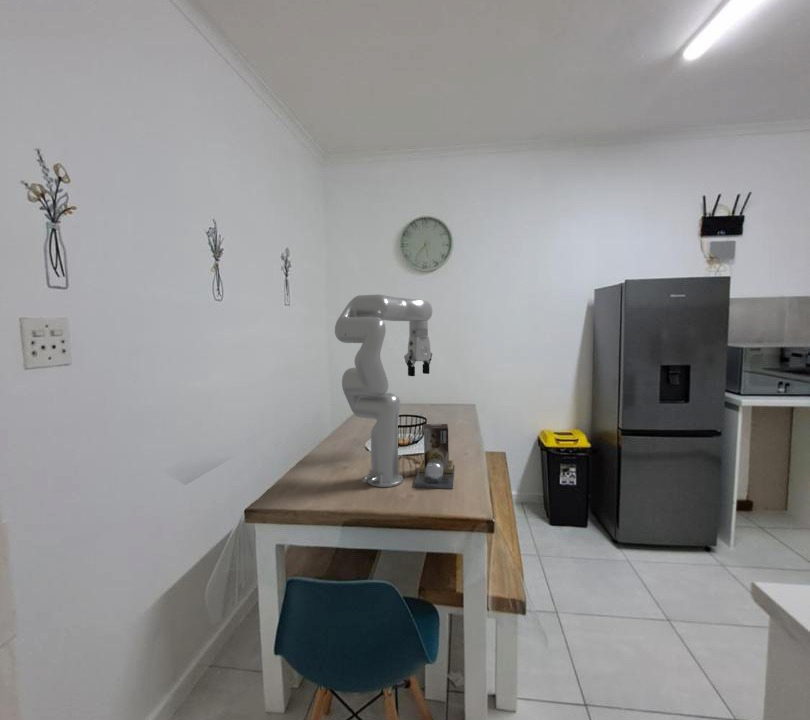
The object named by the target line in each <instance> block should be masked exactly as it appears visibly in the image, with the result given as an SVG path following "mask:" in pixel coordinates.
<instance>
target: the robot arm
mask: <svg viewBox="0 0 810 720" xmlns="http://www.w3.org/2000/svg"><path fill="white" fill-rule="evenodd" d="M432 315H433V307H432V304H431V303H430V302H429V301H427V300H422V299H412V298H405V297H394V296H389V295H385V294H359V295H356V296H355V297H353V298H352V299H351V300H350V301H349V302H348V303H347V305H346V306H345V308H344V310H342V312H341V314H340V315H339V317H338V318H337V320H336V323H335V325H334V334H335V335H334V336H335V337H336V339H337V340H338V341H339V342H341V343H344V344H352V343H353V344H361V346H360V348H359V349H358V351H357V353H356V354H355V357H354V359H353V360H354V367H350V368H347V369H346V370H345V371H344V372H343V375H342V379H341V388H342V391H343V394H344V396H345V398H346V401H347V403H348V405H349V407H350V410H351V412H352V413H353V415H355V416H356V417H358V418H361V419H371V420H372V419H373V420H376V422H375V424H374V425H373V426H372V429H371V430H370V431H371V432H370V456H371V458H370V459H371V460H370V463H371V464H370V465H371V469H369V473H368V474H367V475H364V476H362V477H361V481H362V483H366V482H367V483H368V485H371V487H372V486H374V487H377V488H390V487H395V486H397V485H400V484H402V482H403V480H404V479H403V476H402V474H400V473H399V428H398V426H399V418H400V417H399V416H400V411H401V401H400V398H399V397H398V396H397V395H396V394H394V393H391V392H388V391H389V380H388V378H387V374H386V372H385V368H384V366H383V363H382V360H381V350H382V348H383V343H384V339H385V336H386V333H387V332H386V330H387V329H386V324H385V322H384V321H389V322H390V321H391V322H409V323H408V325H409V327H408V328H409V329H408V330H409V332H408V333H409V337H408V342H407V343H408V344H407V353H406V354H404V357H403V358H404V360H405V364H406V366H407V376H408V377H415V376H416V371H415V370H416V366H415V364H416V363H417V362H422V374H424V375H426V374H427V375H429V374H430V365H431V361H432V358H433V357H432V356H433V353H432V351H431V342H430V337H429V336H428V335H429V333H428V331H429V328H428V326H429V323H428V322H429V320H431V318H432Z"/></svg>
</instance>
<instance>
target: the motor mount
mask: <svg viewBox="0 0 810 720" xmlns="http://www.w3.org/2000/svg"><path fill="white" fill-rule="evenodd" d="M454 478H455V464H454V459H453V460H450V459H449V468H444V465H443V463H442V461H441V460H439V459H436V458H434V459H431V460H430V461H429V462H428V463H427V467H424V459H421V460H420V463H419V465H418V470H417V473H416V476H415V479H414V480H415V481H414V488H424V489H425V488H426V489H442V490H443V489H447V490H448V489H450V490H454V480H455V479H454Z"/></svg>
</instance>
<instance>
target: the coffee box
mask: <svg viewBox="0 0 810 720" xmlns="http://www.w3.org/2000/svg"><path fill="white" fill-rule="evenodd" d="M423 447H424V448H423V450H424V452H423V455H424V467H427V463H428V462H429V461H430V460H431V459H434V458H436V459H439V460H441V461H442V463H443V465H444V468H449V460H450V459H449V457H450V455H449V426H448V423H424V424H423Z"/></svg>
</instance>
